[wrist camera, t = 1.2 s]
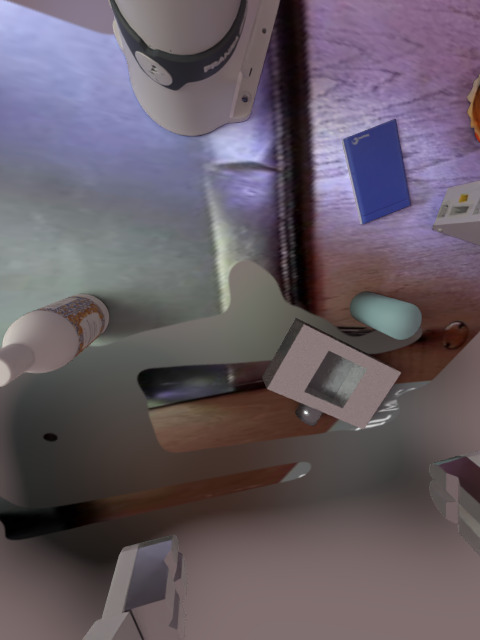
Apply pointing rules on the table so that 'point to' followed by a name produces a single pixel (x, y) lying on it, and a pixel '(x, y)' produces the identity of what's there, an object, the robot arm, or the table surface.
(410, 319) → the toggle switch lever
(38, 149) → the table surface
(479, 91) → the vessel
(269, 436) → the table surface
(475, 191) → the game console
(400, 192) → the hard drive
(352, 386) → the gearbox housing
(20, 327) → the bath foam
